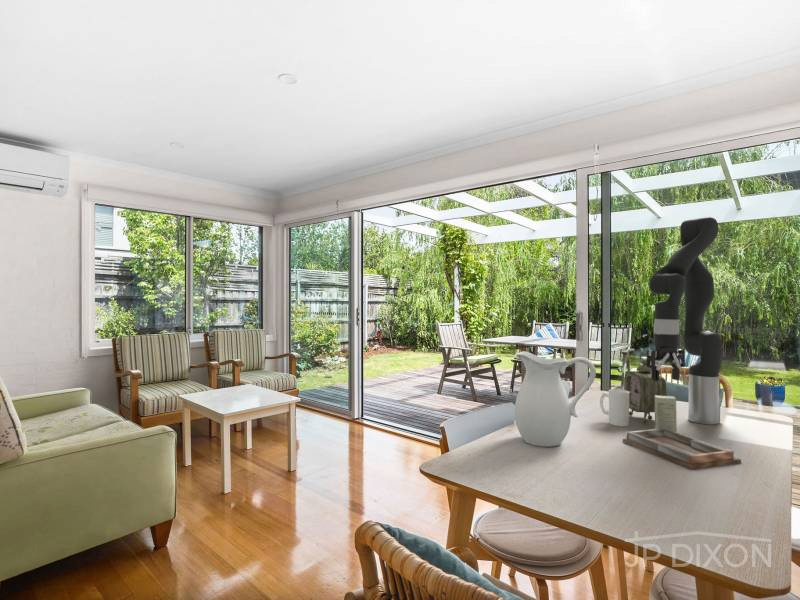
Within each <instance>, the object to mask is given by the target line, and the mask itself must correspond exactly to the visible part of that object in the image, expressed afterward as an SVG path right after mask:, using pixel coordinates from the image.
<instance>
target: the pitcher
mask: <svg viewBox="0 0 800 600" xmlns="http://www.w3.org/2000/svg"><path fill="white" fill-rule="evenodd" d="M515 357H517V358H518V359H519V360H520V361H521V362H522V363H523V365H524V367H525V375H524V378H523V380H522V383H521V385H520V387H519V389H518V393H517V395H516V399H515V403H514V421H515V424H516V428H517V430H518V432H519V435H520V436H521V437H522V440H523V441H524V442H526V443H527V444H530V445H531V446H536V447H542V448H543V447H546V448H549V447H557V446H559V445H561V444H562V443H563V441H564V440H565V438H566V437H567V436H568V432H569V430H570V427H571V420H572V419H571V418H572V417H573V418H578V417H579V416H578V415H579V414H578V413H577V411H576V405H577V403H578V401H579V400H580V399H581V398H582V397H583V396H584V395H585V393H586V392H587V391H588V390H589V389H590V387H591V386H592V384H593V383H594V382H595V379H596V375H597V373H596V372H597V370H596V367H595V365H594V363H593V362H592V360H591V359H588V358H587V357H584V356H583V357H582V356H576V357H572V358H570V359H566V358H564V357H556V358H544V357H541V356H538V355H535V354H533V353H531V352H528V351H519V352H517V353H516V354H515ZM575 363H583V364H585V365H586V366H587V367H588V368H589V377H588V379H587V381H586V383H585V384H584V386H583V387H582V388H581V389H580V390H579V392H578V393H577V394H576V395H575V396H574V397H573V399H572V400H571V402H570V400H569V397H568V394H567V391H566V389H565V386H564V384H563V382H562V379H561V375H560V374H563V375H565V373H566V369H567V367H569V366H571V365H572V364H575Z"/></svg>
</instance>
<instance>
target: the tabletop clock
mask: <svg viewBox="0 0 800 600" xmlns="http://www.w3.org/2000/svg"><path fill="white" fill-rule="evenodd" d="M642 356H646V357H647V352H646V353H645V352H642V353H640V354H639V361H640V363H641V364H642V365H638V366H637V368H636V370H627V371H625V372H624V381H623V383H624V384H623V390H626V391H629V392H630V393H629V416H633V415H634V412H635V413H643V414H644V415H643V418H642V419H641V423H643V424H646V423H647V421H648V420H649V421H650V420H652V419H653V416H652V415H651V413H655V395H657V396H667V381H666V378H665V377H663V376H661V375H659V381H653V380H652V369H651V368H648V367H646V361H647V360H644V359H643V360H642ZM646 418H647V419H648V420H647V419H646Z"/></svg>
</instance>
